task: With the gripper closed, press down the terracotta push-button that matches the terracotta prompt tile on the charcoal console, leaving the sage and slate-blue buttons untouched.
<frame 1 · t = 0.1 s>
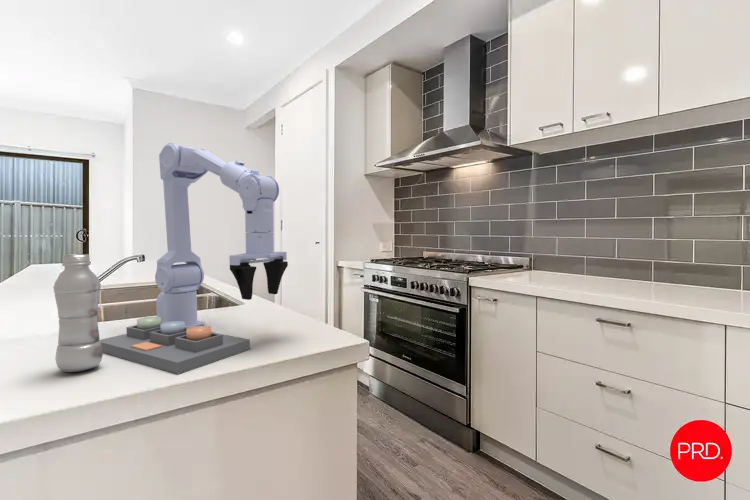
hand: (260, 296, 86), 10 cm above the countertop, tool pointing down, fingers open, 7 cm apart
button terracotta: (199, 333, 77), point 4 cm above the countertop, slide at 0.0 cm
button sage: (149, 323, 85), point 4 cm above the countertop, slide at 0.0 cm
button slate: (172, 328, 81), point 4 cm above the countertop, slide at 0.0 cm
console: (173, 349, 81), on the countertop
plastic bottle: (80, 371, 70), on the countertop
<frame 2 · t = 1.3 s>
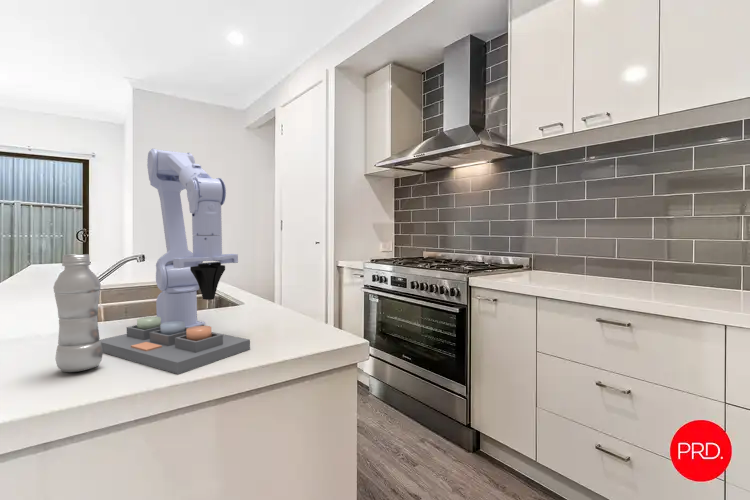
hand: (208, 299, 86), 9 cm above the countertop, tool pointing down, fingers closed
nothing on the countertop moved.
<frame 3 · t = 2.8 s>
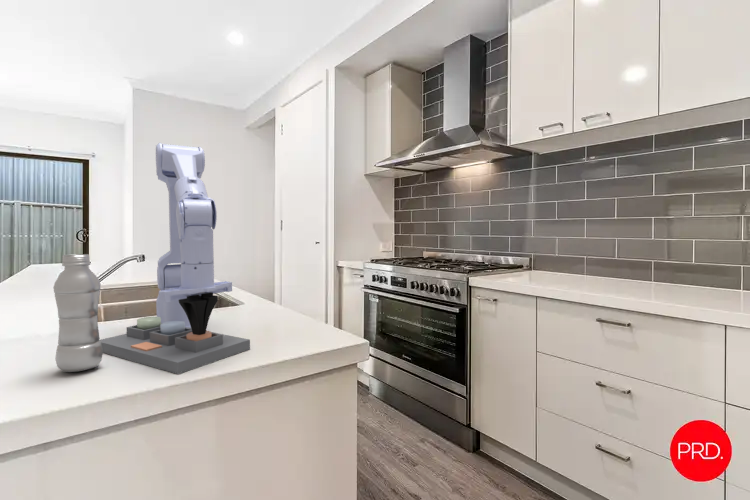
hand: (199, 333, 77), 4 cm above the countertop, tool pointing down, fingers closed, pressing on button terracotta
button terracotta: (199, 338, 77), point 3 cm above the countertop, slide at 1.0 cm, touching gripper
everything else where it was.
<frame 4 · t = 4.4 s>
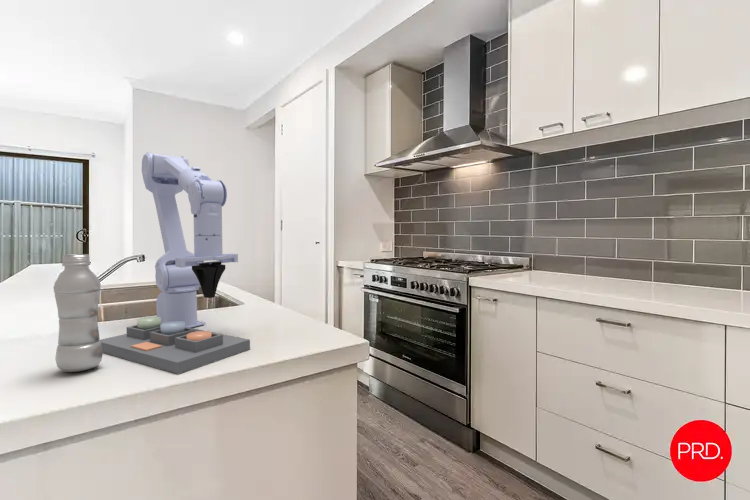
hand: (209, 297, 89), 9 cm above the countertop, tool pointing down, fingers closed
button terracotta: (199, 338, 77), point 3 cm above the countertop, slide at 1.0 cm
everything else where it was.
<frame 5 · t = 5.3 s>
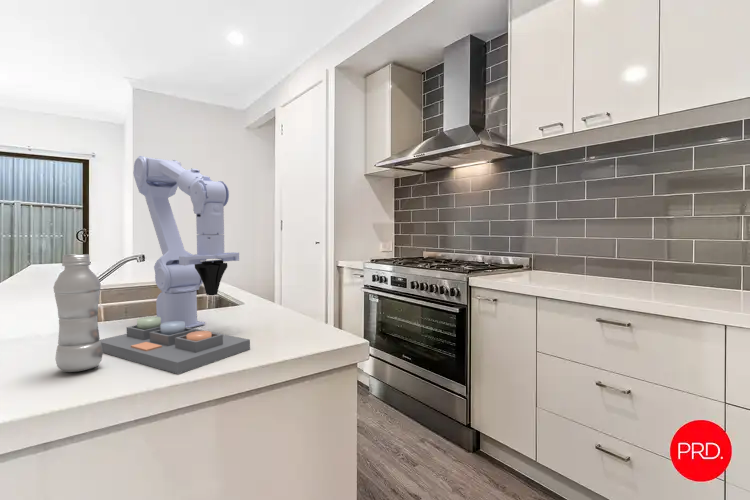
hand: (211, 294, 91), 9 cm above the countertop, tool pointing down, fingers closed
nothing on the countertop moved.
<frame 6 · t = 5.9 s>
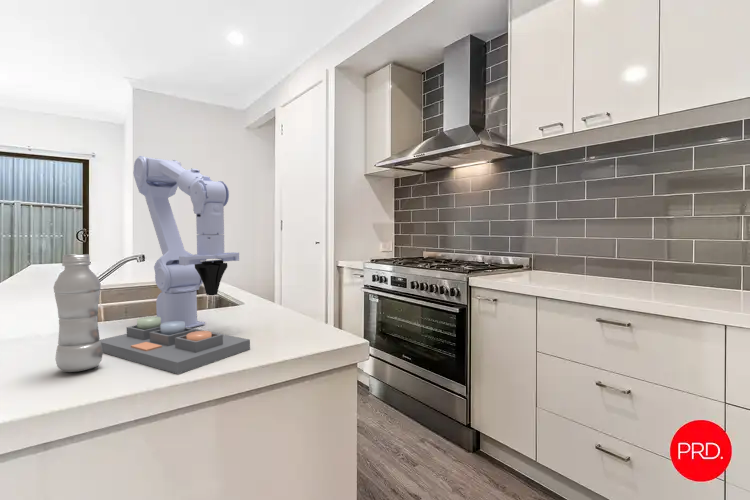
hand: (211, 294, 91), 9 cm above the countertop, tool pointing down, fingers closed
nothing on the countertop moved.
at the end: button terracotta slide at 1.0 cm; button sage slide at 0.0 cm; button slate slide at 0.0 cm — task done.
